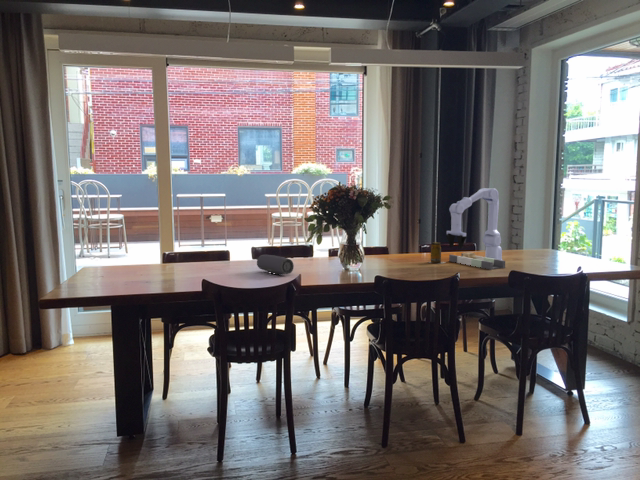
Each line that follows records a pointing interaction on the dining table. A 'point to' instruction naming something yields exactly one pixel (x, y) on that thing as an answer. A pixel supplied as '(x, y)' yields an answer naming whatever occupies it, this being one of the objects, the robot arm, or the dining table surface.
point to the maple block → (469, 255)
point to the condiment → (436, 253)
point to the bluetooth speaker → (275, 264)
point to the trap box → (477, 261)
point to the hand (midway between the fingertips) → (456, 247)
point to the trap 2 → (496, 267)
